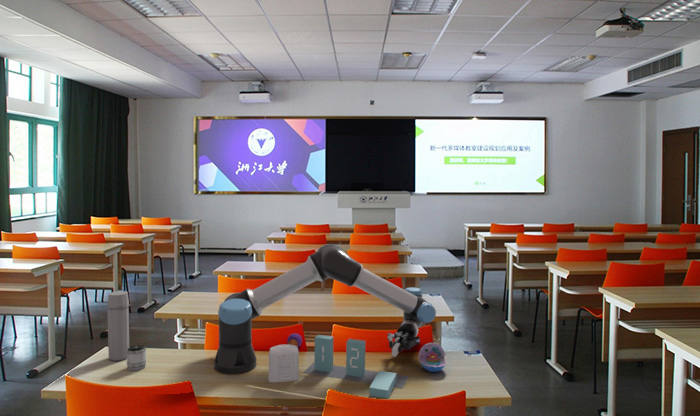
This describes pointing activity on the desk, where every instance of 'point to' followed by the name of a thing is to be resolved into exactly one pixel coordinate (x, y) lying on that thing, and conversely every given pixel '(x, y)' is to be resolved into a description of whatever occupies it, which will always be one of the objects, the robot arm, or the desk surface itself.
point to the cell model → (432, 357)
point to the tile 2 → (355, 358)
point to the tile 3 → (383, 384)
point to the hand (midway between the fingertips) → (393, 352)
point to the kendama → (294, 340)
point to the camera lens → (136, 358)
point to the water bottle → (118, 325)
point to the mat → (341, 374)
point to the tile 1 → (323, 353)
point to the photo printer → (283, 363)
